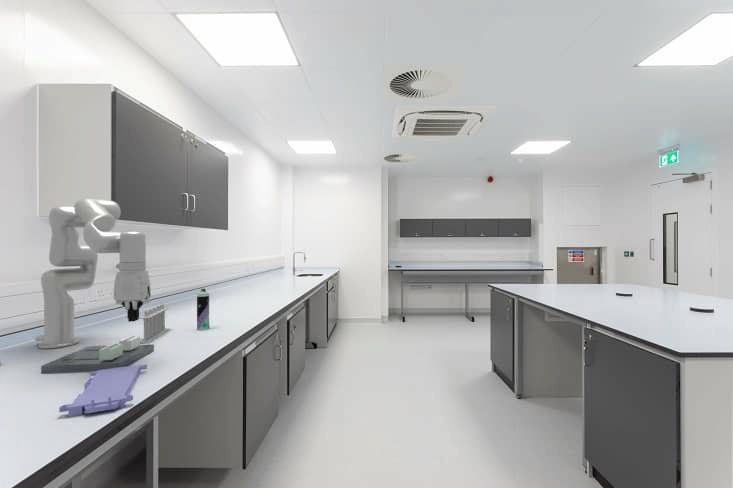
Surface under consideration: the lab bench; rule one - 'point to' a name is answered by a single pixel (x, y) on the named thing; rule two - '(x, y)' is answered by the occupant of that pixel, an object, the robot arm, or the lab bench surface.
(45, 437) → the lab bench surface
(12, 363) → the lab bench surface
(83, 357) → the dark grey flat board
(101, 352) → the fader green
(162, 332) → the test tube rack
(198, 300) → the spray can
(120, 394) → the computer part
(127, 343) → the block
